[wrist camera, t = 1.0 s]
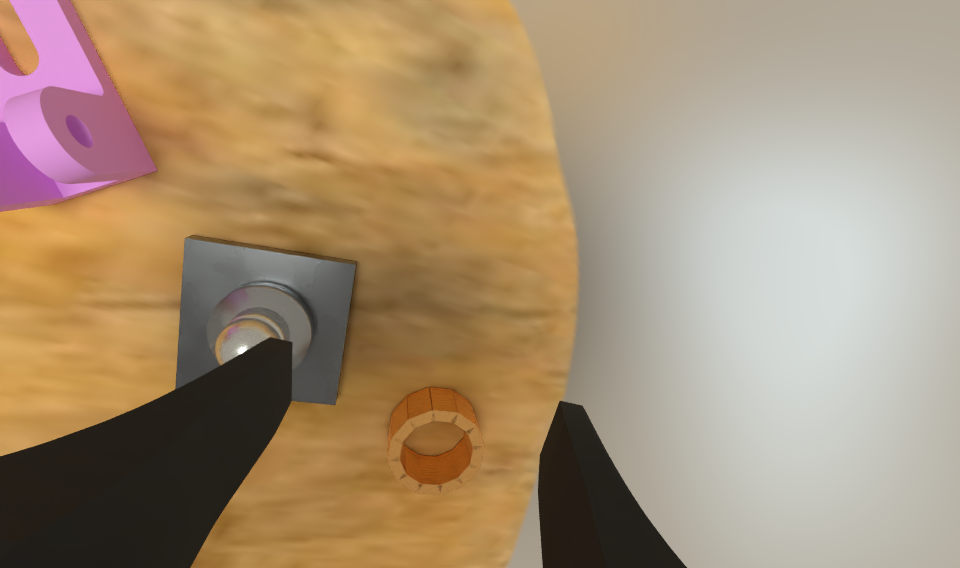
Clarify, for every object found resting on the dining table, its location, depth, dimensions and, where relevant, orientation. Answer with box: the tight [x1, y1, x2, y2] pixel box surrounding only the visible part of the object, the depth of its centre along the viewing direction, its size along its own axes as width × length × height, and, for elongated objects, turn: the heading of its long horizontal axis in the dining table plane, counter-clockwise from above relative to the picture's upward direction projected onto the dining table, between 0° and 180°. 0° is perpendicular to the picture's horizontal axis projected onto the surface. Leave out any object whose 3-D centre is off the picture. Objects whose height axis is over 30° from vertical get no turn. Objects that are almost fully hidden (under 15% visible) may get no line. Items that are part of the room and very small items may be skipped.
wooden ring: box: [387, 387, 485, 495], centre depth 31 cm, size 6×6×3 cm
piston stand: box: [176, 235, 357, 405], centre depth 26 cm, size 9×9×6 cm
